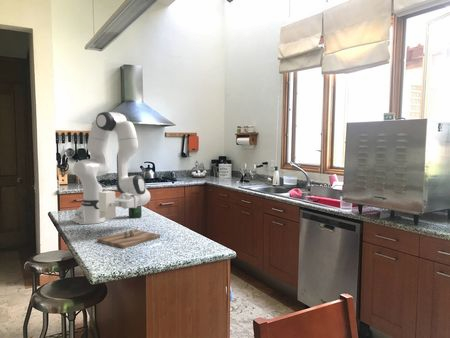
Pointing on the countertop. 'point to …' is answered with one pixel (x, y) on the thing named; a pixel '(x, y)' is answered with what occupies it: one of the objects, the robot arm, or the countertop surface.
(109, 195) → the housing
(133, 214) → the coffee jar
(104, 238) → the stub board
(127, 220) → the countertop surface
